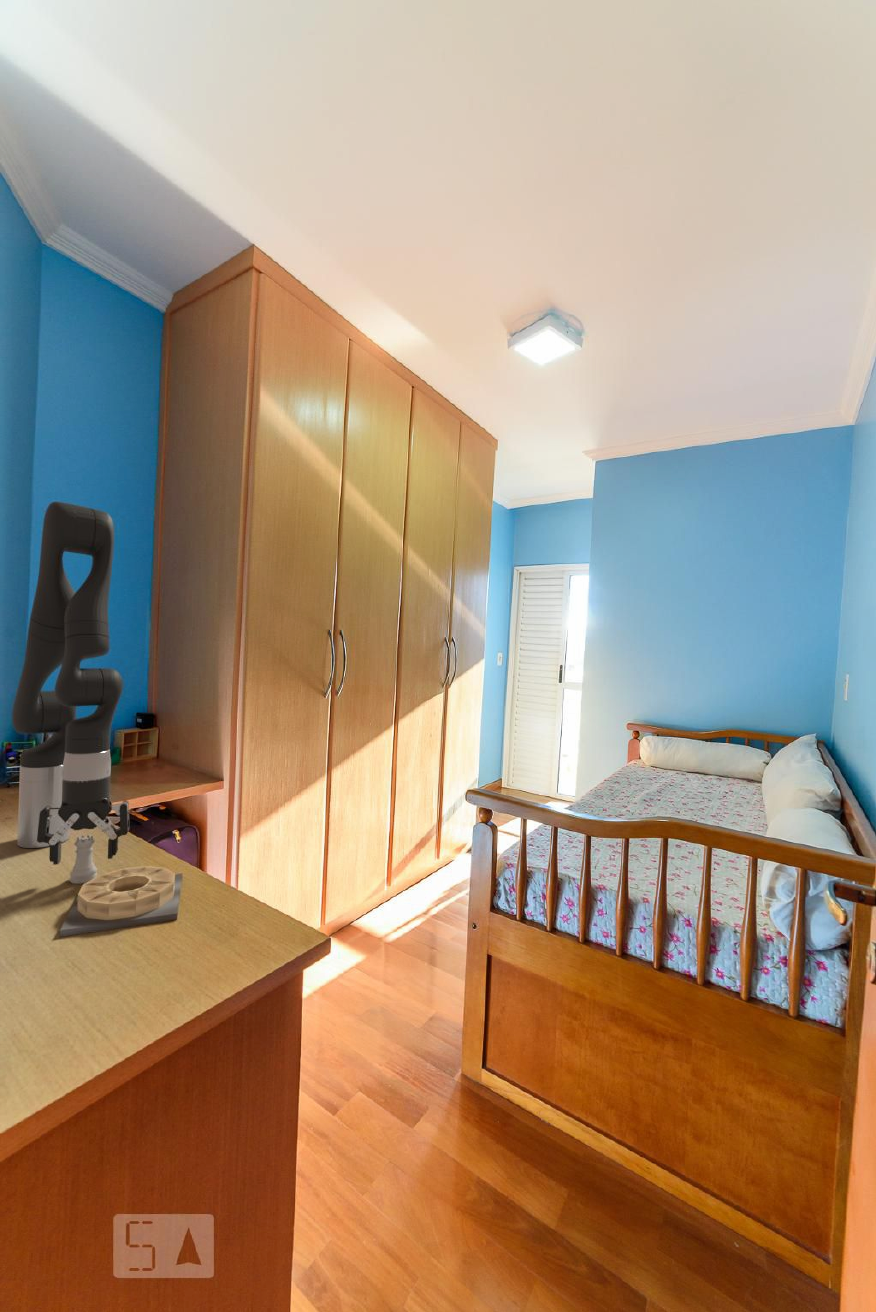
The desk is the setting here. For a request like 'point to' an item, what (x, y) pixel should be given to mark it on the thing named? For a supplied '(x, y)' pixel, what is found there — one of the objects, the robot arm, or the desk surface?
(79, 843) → the rook chess piece
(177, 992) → the desk surface
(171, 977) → the desk surface
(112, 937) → the desk surface
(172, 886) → the gray square plate
